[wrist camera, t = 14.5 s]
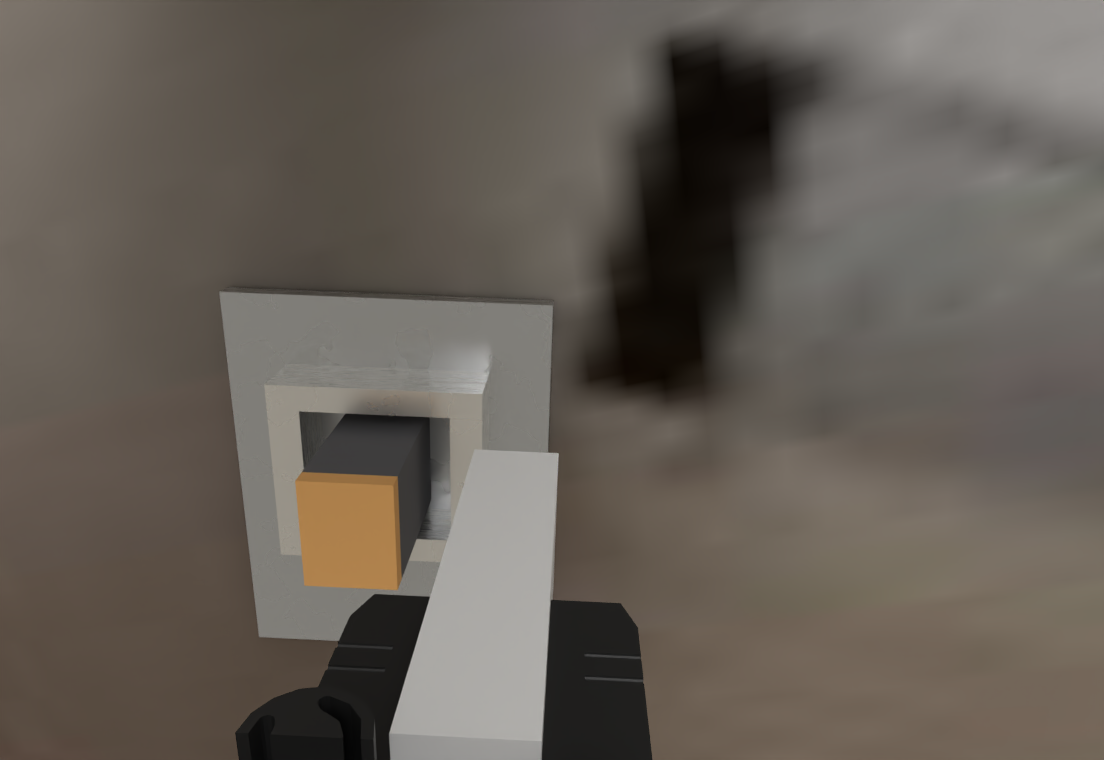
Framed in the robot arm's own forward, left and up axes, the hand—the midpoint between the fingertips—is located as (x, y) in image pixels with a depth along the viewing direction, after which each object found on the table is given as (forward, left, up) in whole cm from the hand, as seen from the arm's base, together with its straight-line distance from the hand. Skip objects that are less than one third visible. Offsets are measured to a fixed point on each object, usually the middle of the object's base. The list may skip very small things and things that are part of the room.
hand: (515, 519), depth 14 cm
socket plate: (+12, -8, -24) cm, 28 cm away
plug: (+10, -8, -23) cm, 27 cm away
